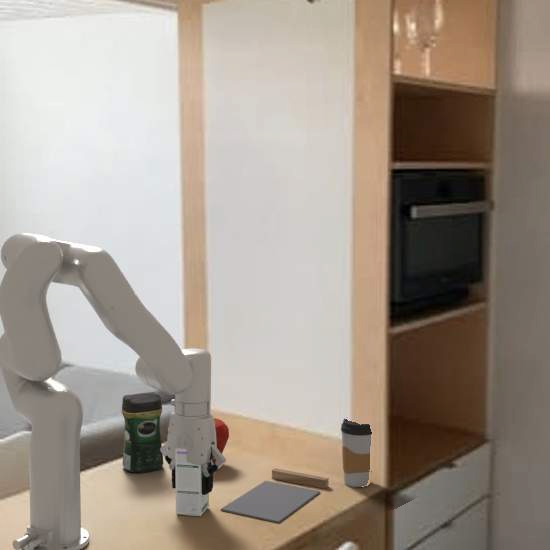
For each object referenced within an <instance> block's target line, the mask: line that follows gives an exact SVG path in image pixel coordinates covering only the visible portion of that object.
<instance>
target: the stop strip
mask: <svg viewBox="0 0 550 550" xmlns="http://www.w3.org/2000/svg"><path fill="white" fill-rule="evenodd" d="M271 479H272V480H273V479H274V480H279V481H283V482H289V483H294V484H298V485H299V484H300V485H303V484H304V485H303V486H309V487H315V488H319V489H327V488H328V487H329V479H330V478H329V477H323V476H318V475H314V474H308V473H302V472H297V471H292V470H286V469H281V468H276V467H275V468H273V469H272V470H271Z"/></svg>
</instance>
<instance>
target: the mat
mask: <svg viewBox="0 0 550 550" xmlns="http://www.w3.org/2000/svg"><path fill="white" fill-rule="evenodd" d="M320 493H321V491H320V490H315V489H310V488H306V487H300V486H296V485H290V484H285V483H280V482H274V481H270V480H265V481H263V482H261V483H259V484H258V485H256V486H255V487H254V488H252V489H249V491H247V492H245V493H244V494H242V495H240V496H239V497H237V498H236V499H234V500H232V501H231V502H229V503H228V504H226V505H224V506H223V507H221V508H220V512H221V511H223V512H225V511H226V512H227V513H231V514H234V513H236V514H235V515H239V516H240V515H241V516H243V515H244V517H247V518H248V517H249V518H253V519H258V520H262V521H267V522H270V523H276V524H280V523H281V522H283V521H284V520H285V519H287V518H288V517H290V515H292V514H294V513H295V512H296V511H297V510H299V509H300V508H301V507H303V506H304V505H305V504H307V503H309V501H311V500H312V499H314V498H315V497H316V496H318V495H319V494H320Z"/></svg>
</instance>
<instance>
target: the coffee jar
mask: <svg viewBox="0 0 550 550" xmlns="http://www.w3.org/2000/svg"><path fill="white" fill-rule="evenodd" d="M121 401H122V404H121V413H122V417H123V418H124V439H123V450H122V467H123V468H124V470H125V471H127V472H131V473H134V474H135V473H144V472H145V473H146V472H150V471H155V470H159V469H161V468H163V465H164V456H163V454H162V453H161V451H160V448H161V447H162V446H163V445H162V438H161V430H160V429H161V425H160V423H161V422H160V419H161V415H162V413H163V405H162V404H163V403H162V399H161V396H160V394H158V393H157V392H155V391H150V392H140V393H139V392H138V393H135V394H126V395H124V396H122V400H121Z"/></svg>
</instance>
